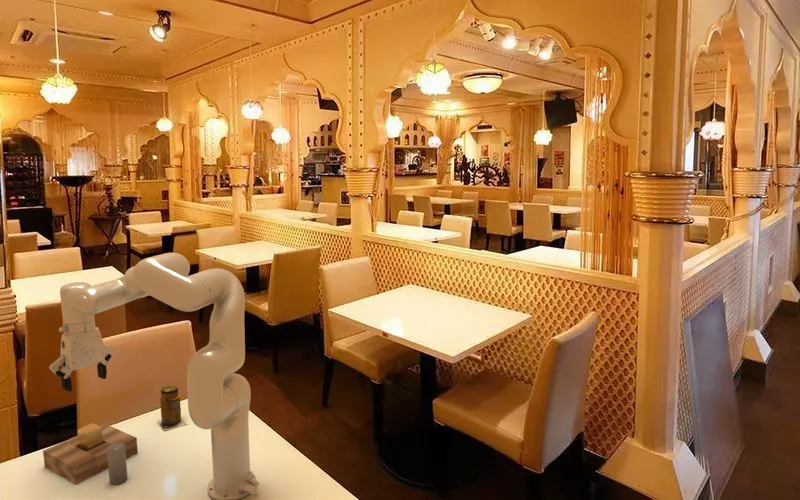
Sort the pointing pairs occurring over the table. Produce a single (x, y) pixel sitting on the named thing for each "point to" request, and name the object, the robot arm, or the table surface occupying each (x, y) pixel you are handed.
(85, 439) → the square peg
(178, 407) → the condiment
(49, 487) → the table surface
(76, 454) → the socket block
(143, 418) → the table surface
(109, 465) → the round peg
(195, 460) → the table surface
